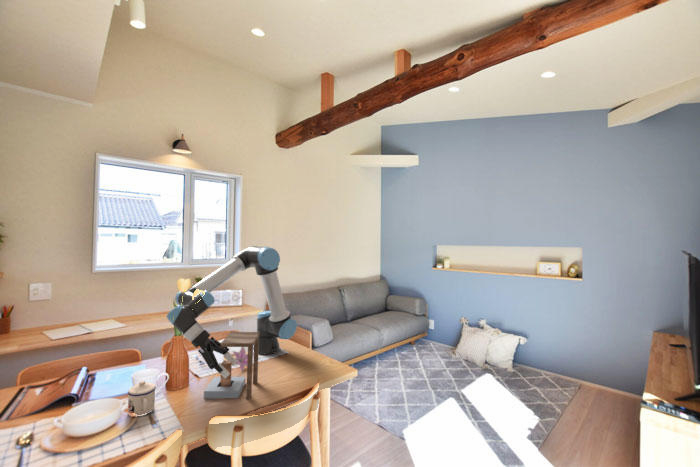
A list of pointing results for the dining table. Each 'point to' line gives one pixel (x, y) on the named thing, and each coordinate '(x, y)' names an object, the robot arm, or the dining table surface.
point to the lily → (241, 358)
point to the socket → (224, 388)
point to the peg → (227, 381)
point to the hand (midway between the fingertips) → (231, 369)
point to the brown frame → (248, 341)
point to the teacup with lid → (141, 398)
